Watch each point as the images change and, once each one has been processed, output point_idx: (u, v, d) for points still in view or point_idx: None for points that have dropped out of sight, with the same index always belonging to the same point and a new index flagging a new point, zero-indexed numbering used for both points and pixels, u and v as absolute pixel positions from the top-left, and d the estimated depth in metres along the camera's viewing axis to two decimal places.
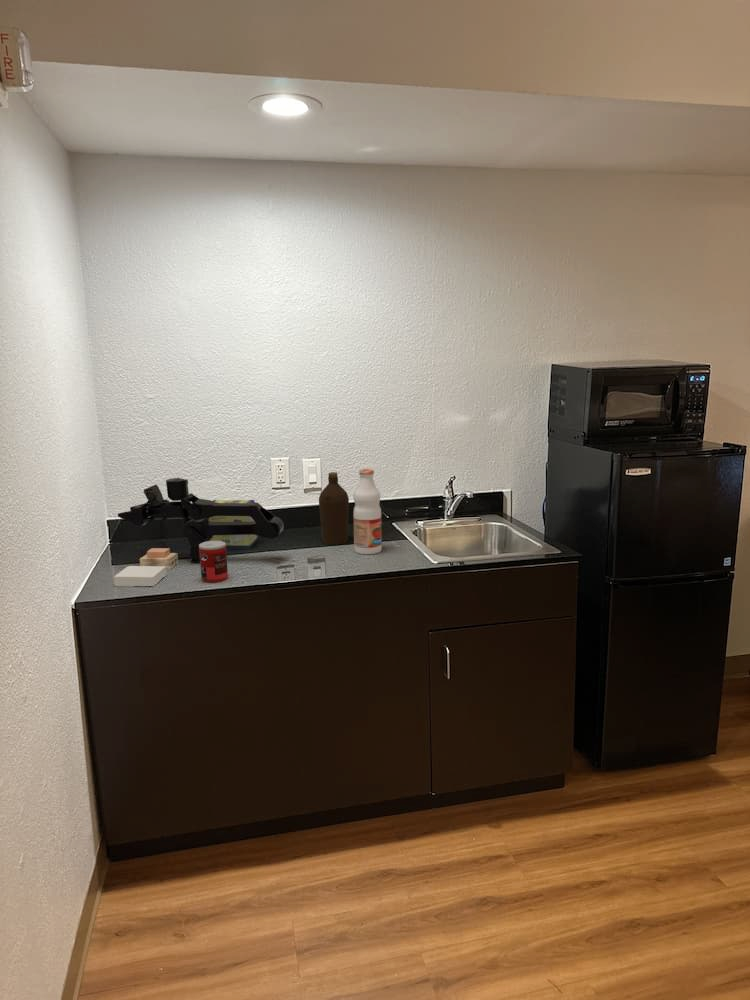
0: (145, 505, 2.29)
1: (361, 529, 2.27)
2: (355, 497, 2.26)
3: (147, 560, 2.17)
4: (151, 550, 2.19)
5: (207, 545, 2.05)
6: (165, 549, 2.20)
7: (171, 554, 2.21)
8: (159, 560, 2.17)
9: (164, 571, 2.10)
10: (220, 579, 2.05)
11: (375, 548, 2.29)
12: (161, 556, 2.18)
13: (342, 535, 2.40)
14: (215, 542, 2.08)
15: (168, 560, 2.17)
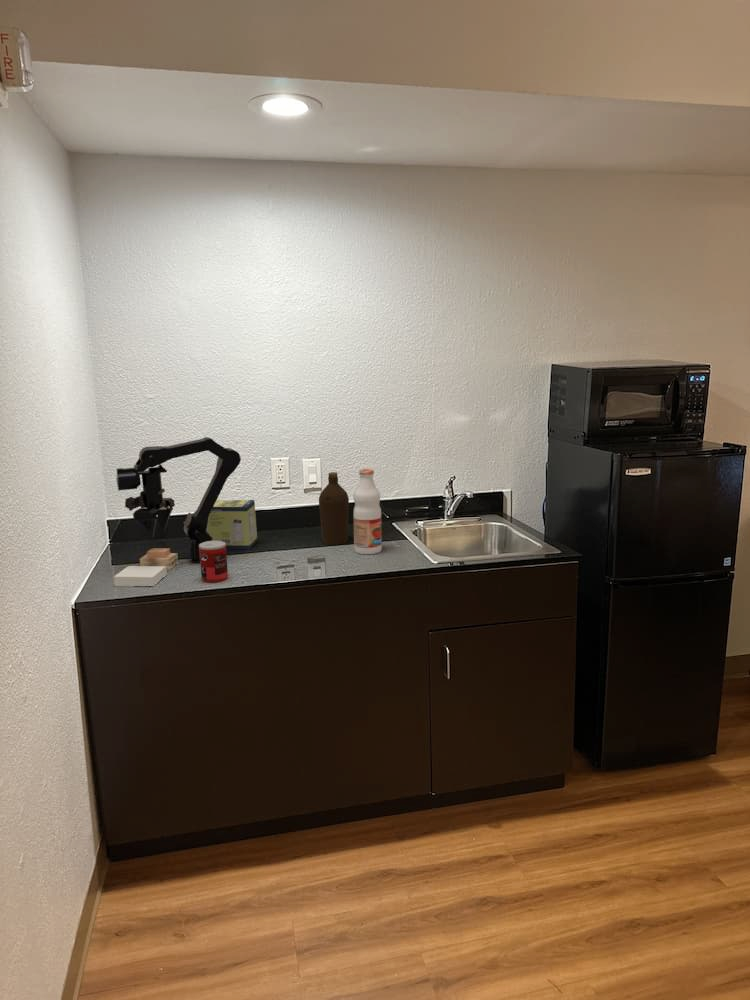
0: (159, 515, 2.22)
1: (361, 529, 2.27)
2: (355, 497, 2.26)
3: (147, 560, 2.17)
4: (151, 550, 2.19)
5: (207, 545, 2.05)
6: (165, 549, 2.20)
7: (171, 554, 2.21)
8: (159, 560, 2.17)
9: (164, 571, 2.10)
10: (220, 579, 2.05)
11: (375, 548, 2.29)
12: (161, 556, 2.18)
13: (342, 535, 2.40)
14: (215, 542, 2.08)
15: (168, 560, 2.17)
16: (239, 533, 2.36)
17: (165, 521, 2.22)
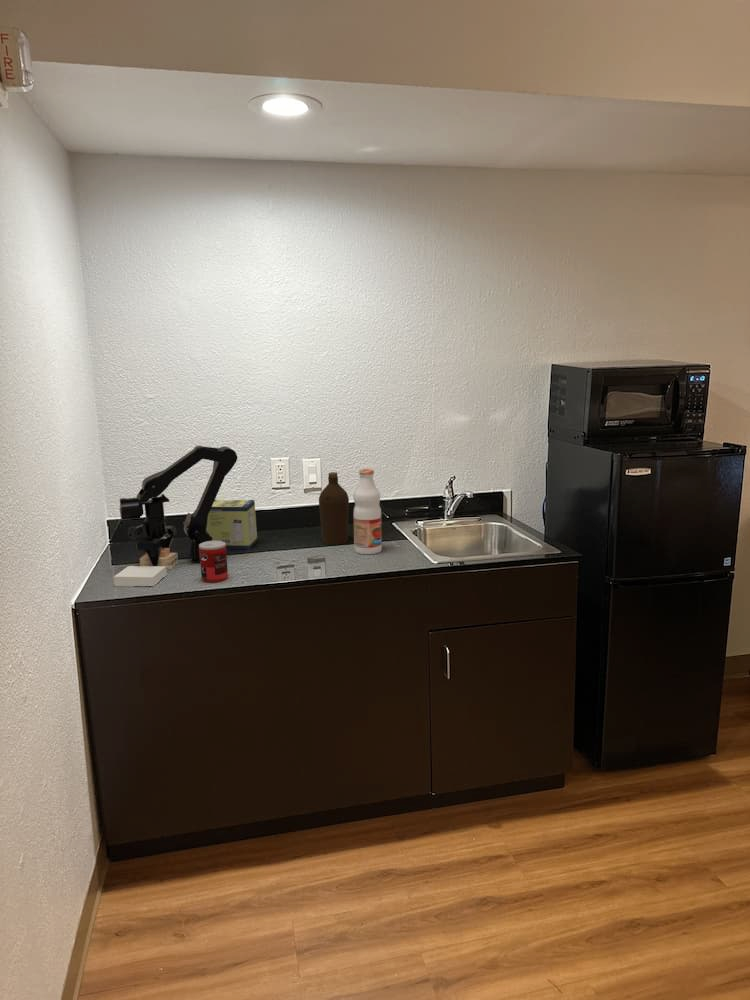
0: (159, 544, 2.23)
1: (361, 529, 2.27)
2: (355, 497, 2.26)
3: (147, 560, 2.17)
4: None
5: (207, 545, 2.05)
6: (165, 549, 2.20)
7: (171, 554, 2.21)
8: (159, 560, 2.17)
9: (164, 571, 2.10)
10: (220, 579, 2.05)
11: (375, 548, 2.29)
12: (161, 555, 2.18)
13: (342, 535, 2.40)
14: (215, 542, 2.08)
15: (168, 560, 2.17)
16: (239, 533, 2.36)
17: None
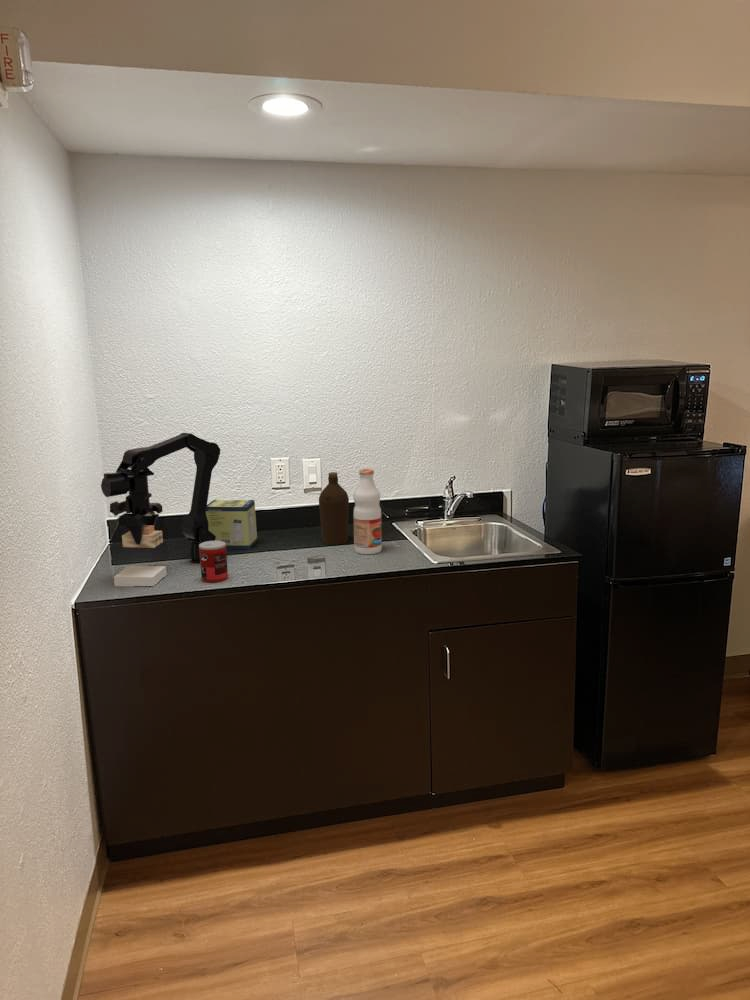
0: (144, 521, 2.11)
1: (361, 529, 2.27)
2: (355, 497, 2.26)
3: (129, 537, 2.06)
4: None
5: (207, 545, 2.05)
6: (149, 526, 2.08)
7: (155, 531, 2.10)
8: (142, 537, 2.05)
9: (164, 571, 2.10)
10: (220, 579, 2.05)
11: (375, 548, 2.29)
12: (144, 532, 2.06)
13: (342, 535, 2.40)
14: (215, 542, 2.08)
15: (151, 537, 2.05)
16: (239, 533, 2.36)
17: None
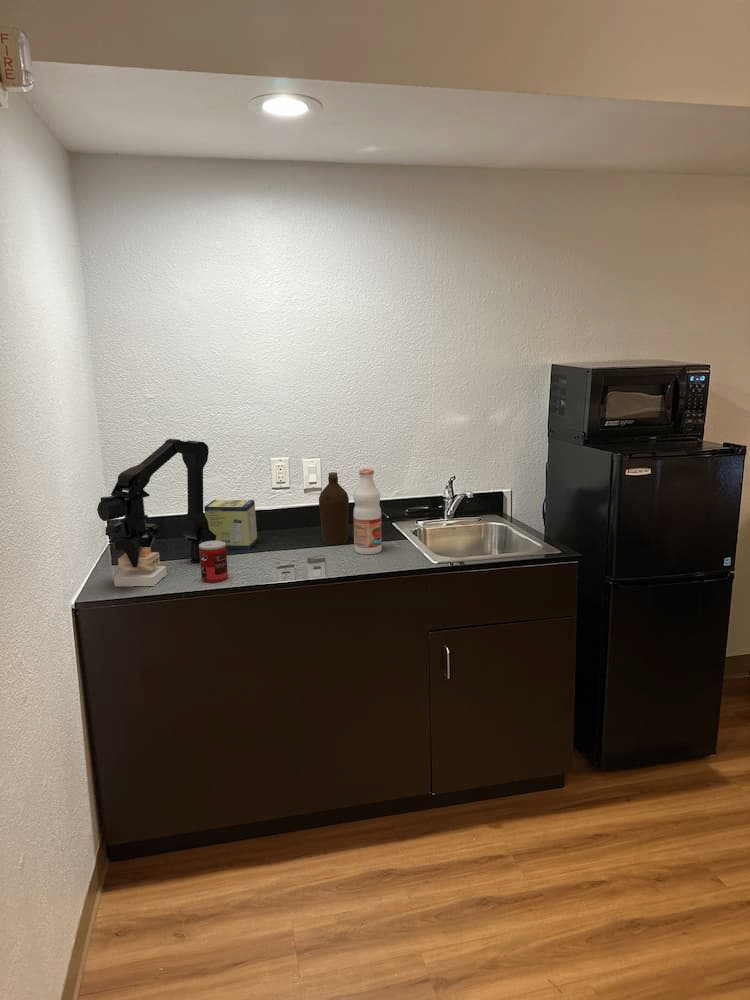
0: (140, 543, 2.08)
1: (361, 529, 2.27)
2: (355, 497, 2.26)
3: (126, 560, 2.03)
4: None
5: (207, 545, 2.05)
6: (145, 548, 2.05)
7: (152, 553, 2.07)
8: (139, 560, 2.02)
9: (164, 571, 2.10)
10: (220, 579, 2.05)
11: (375, 548, 2.29)
12: (141, 555, 2.03)
13: (342, 535, 2.40)
14: (215, 542, 2.08)
15: (148, 560, 2.02)
16: (239, 533, 2.36)
17: None
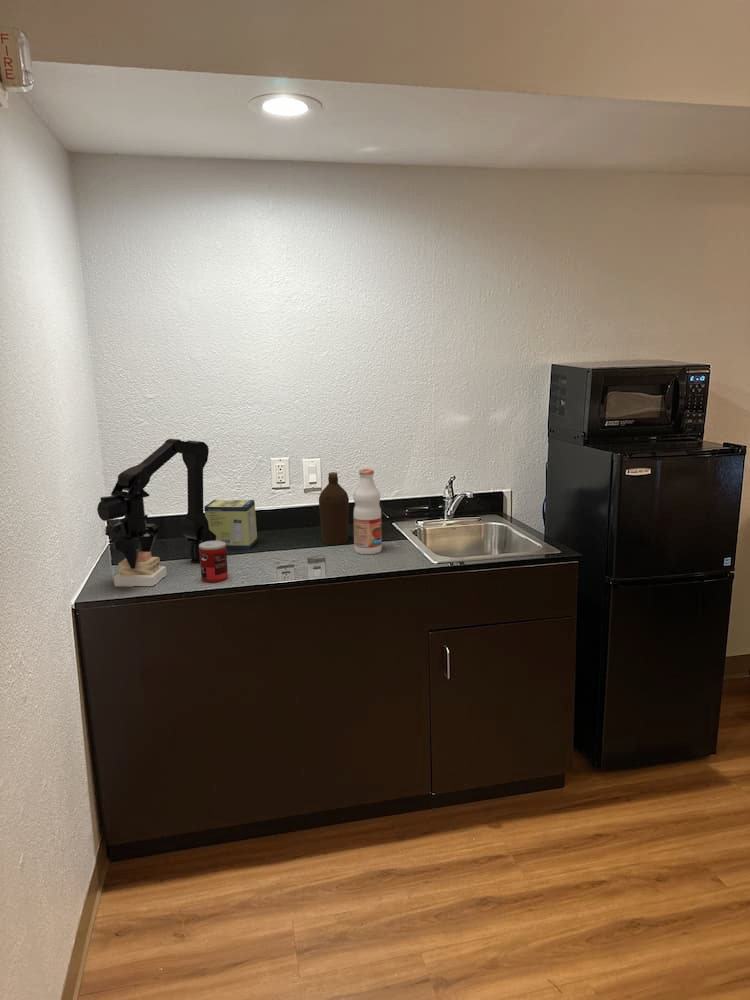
0: (142, 542, 2.10)
1: (361, 529, 2.27)
2: (355, 497, 2.26)
3: (126, 564, 2.03)
4: None
5: (207, 545, 2.05)
6: (146, 552, 2.06)
7: (152, 558, 2.07)
8: (139, 564, 2.03)
9: (164, 571, 2.10)
10: (220, 579, 2.05)
11: (375, 548, 2.29)
12: (141, 560, 2.04)
13: (342, 535, 2.40)
14: (215, 542, 2.08)
15: (149, 564, 2.02)
16: (239, 533, 2.36)
17: (148, 549, 2.10)
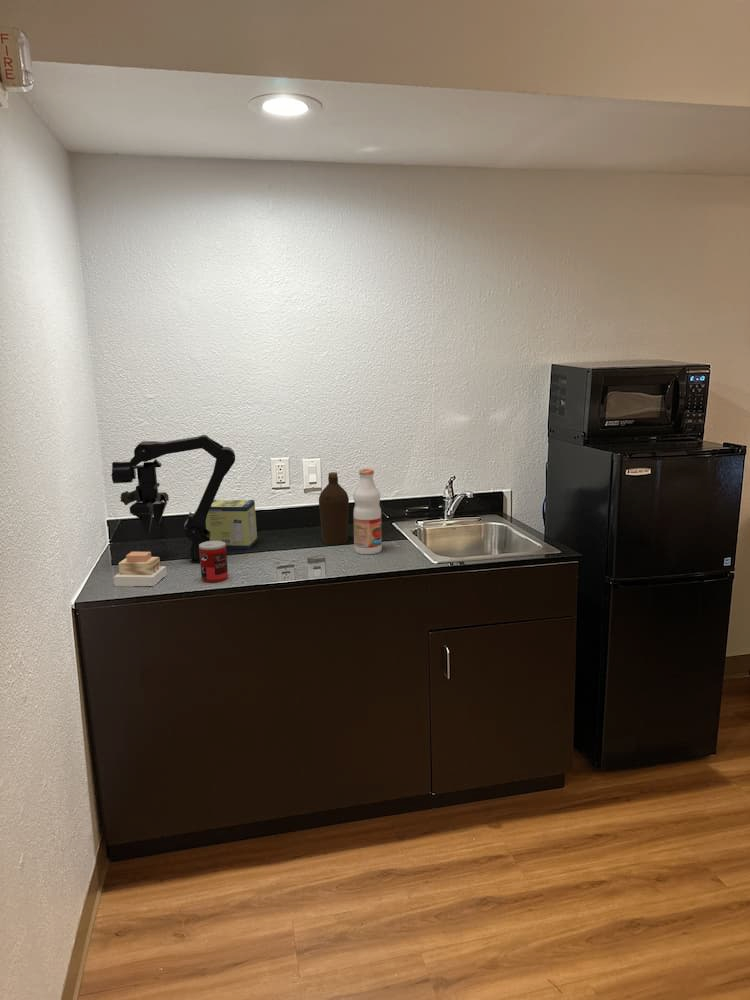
0: (153, 509, 2.24)
1: (361, 529, 2.27)
2: (355, 497, 2.26)
3: (126, 564, 2.03)
4: (131, 554, 2.05)
5: (207, 545, 2.05)
6: (146, 552, 2.06)
7: (152, 558, 2.07)
8: (139, 564, 2.03)
9: (164, 571, 2.10)
10: (220, 579, 2.05)
11: (375, 548, 2.29)
12: (141, 560, 2.04)
13: (342, 535, 2.40)
14: (215, 542, 2.08)
15: (149, 564, 2.02)
16: (239, 533, 2.36)
17: (160, 515, 2.24)
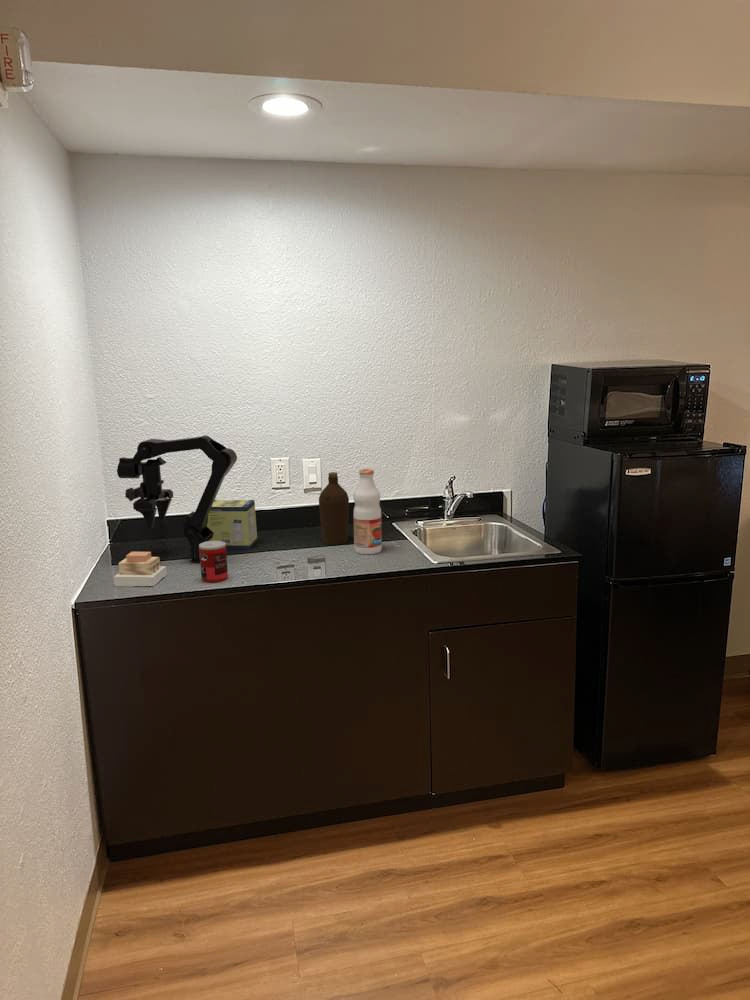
0: (158, 505, 2.29)
1: (361, 529, 2.27)
2: (355, 497, 2.26)
3: (126, 564, 2.03)
4: (131, 554, 2.05)
5: (207, 545, 2.05)
6: (146, 552, 2.06)
7: (152, 558, 2.07)
8: (139, 564, 2.03)
9: (164, 571, 2.10)
10: (220, 579, 2.05)
11: (375, 548, 2.29)
12: (141, 560, 2.04)
13: (342, 535, 2.40)
14: (215, 542, 2.08)
15: (149, 564, 2.02)
16: (239, 533, 2.36)
17: (164, 512, 2.29)
